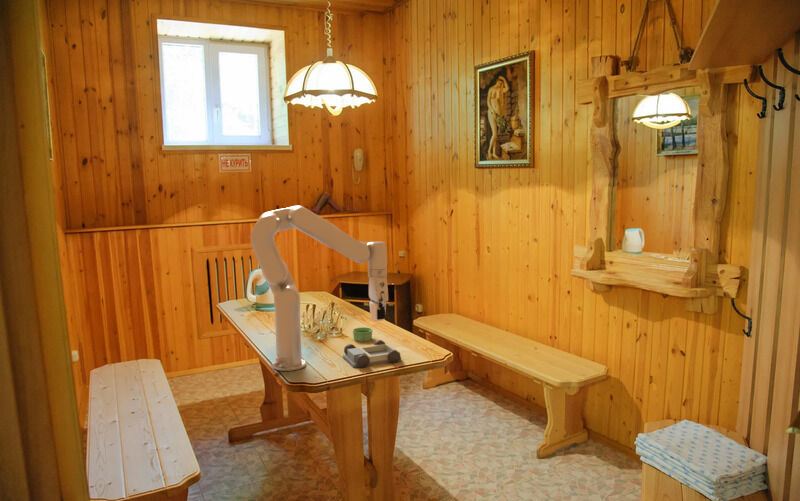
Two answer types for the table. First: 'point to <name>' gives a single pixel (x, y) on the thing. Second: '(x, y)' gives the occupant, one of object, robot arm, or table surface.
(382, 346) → the chassis
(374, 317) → the pale pink cup
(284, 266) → the robot arm
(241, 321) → the table surface
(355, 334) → the ramekin
